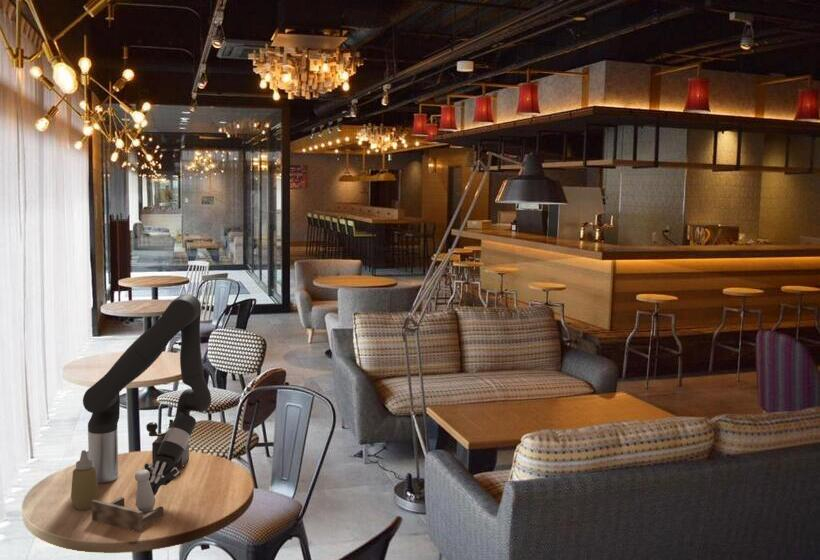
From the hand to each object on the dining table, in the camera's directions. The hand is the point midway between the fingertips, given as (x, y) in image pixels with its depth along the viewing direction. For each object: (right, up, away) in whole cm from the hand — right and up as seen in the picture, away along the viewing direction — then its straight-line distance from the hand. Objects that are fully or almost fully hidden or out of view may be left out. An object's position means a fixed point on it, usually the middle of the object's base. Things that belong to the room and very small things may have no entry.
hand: (149, 495), depth 232 cm
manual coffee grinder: (-5, 0, +34) cm, 35 cm away
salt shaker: (-1, -4, -1) cm, 4 cm away
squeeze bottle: (-20, -4, 0) cm, 21 cm away
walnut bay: (-4, -5, -7) cm, 9 cm away
